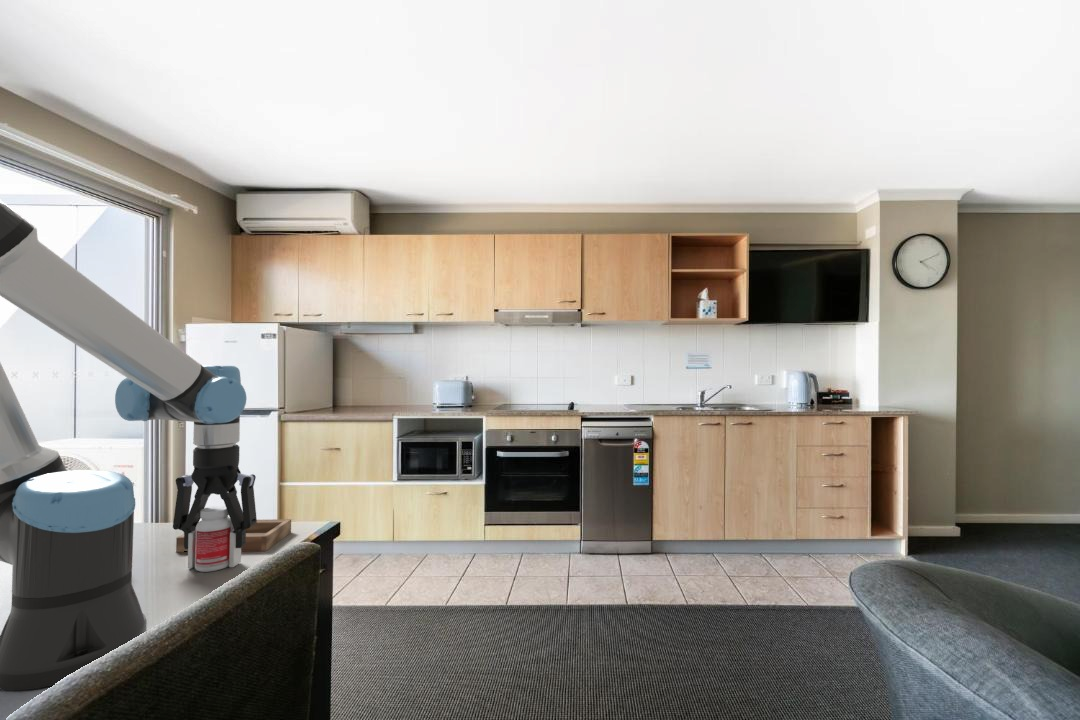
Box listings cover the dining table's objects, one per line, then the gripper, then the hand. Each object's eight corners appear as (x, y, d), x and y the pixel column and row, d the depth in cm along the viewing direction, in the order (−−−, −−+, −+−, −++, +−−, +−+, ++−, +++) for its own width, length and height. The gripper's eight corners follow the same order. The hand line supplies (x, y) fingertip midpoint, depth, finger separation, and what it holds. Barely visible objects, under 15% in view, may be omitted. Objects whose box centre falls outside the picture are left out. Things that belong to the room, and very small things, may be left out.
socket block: (266, 550, 104) (266, 535, 104) (176, 552, 103) (176, 536, 103) (291, 532, 116) (291, 518, 116) (210, 533, 115) (210, 519, 115)
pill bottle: (236, 566, 96) (238, 508, 96) (199, 575, 92) (200, 515, 92) (227, 557, 100) (228, 502, 100) (191, 566, 96) (192, 508, 96)
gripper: (278, 442, 101) (276, 556, 100) (176, 442, 100) (173, 558, 99) (260, 448, 93) (258, 571, 93) (149, 448, 92) (146, 574, 92)
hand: (214, 564), depth 96 cm, fingers open, 7 cm apart
